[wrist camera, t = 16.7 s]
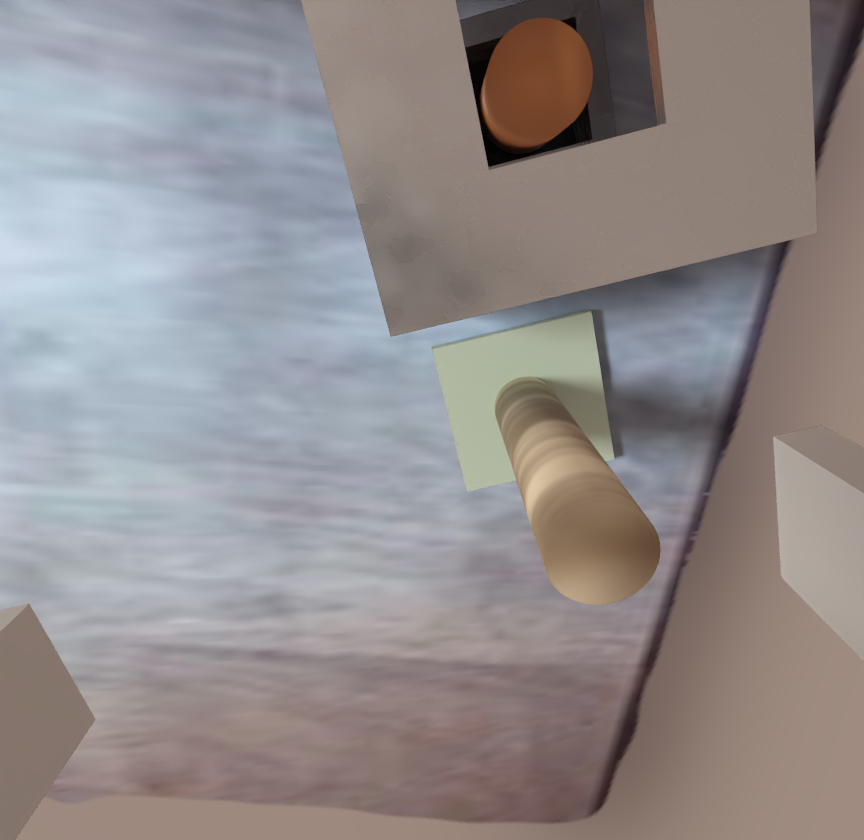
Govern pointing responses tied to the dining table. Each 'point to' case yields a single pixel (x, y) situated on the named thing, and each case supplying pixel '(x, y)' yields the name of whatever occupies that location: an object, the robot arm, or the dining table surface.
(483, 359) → the pad
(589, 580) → the rod
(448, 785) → the dining table surface
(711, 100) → the stand
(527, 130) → the button
